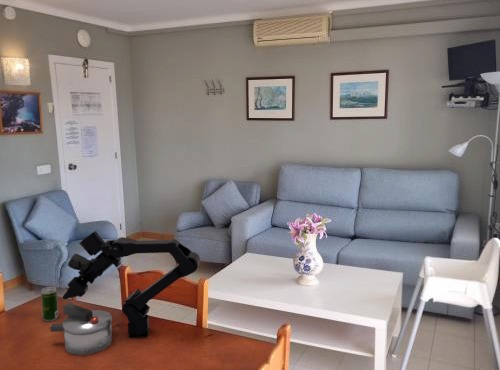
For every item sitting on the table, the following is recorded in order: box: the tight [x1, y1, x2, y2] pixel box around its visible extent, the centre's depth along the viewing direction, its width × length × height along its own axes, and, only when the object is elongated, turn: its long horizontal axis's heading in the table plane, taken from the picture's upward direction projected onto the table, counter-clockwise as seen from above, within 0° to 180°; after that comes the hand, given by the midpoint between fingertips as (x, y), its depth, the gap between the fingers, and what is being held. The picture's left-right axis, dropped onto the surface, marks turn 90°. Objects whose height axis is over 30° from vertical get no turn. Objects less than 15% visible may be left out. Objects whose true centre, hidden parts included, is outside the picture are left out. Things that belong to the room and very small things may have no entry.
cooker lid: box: [62, 302, 113, 334], centre depth 150 cm, size 19×16×4 cm
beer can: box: [40, 286, 59, 322], centre depth 168 cm, size 5×5×12 cm
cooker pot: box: [49, 323, 113, 356], centre depth 150 cm, size 20×15×7 cm
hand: (68, 291), depth 156 cm, fingers open, 9 cm apart
